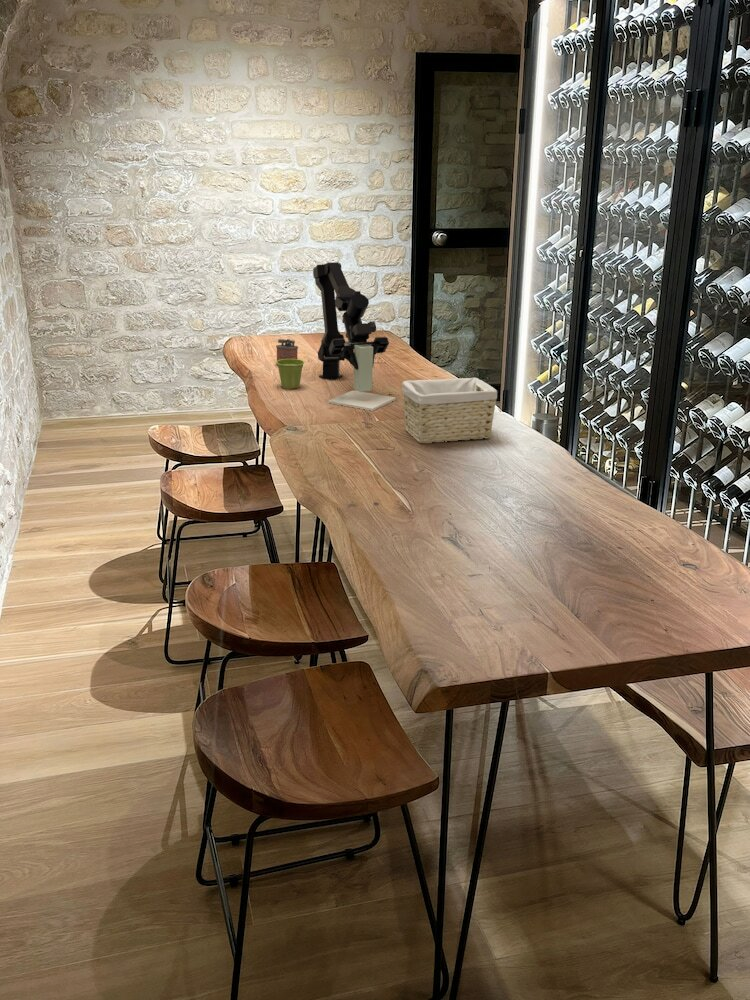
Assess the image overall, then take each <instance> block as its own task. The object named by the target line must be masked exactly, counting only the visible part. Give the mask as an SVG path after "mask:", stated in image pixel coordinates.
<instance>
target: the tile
mask: <svg viewBox="0 0 750 1000" xmlns="http://www.w3.org/2000/svg"><path fill="white" fill-rule="evenodd" d="M396 398H397V397H395V396H390V395H389V396H388V395H384V394H383V395H382V394H377V393H371V392H367V391H362V392H359V391H357V390H355V389H354V390H351V391H348V392H346V393H345V392H344V393H343V394H341V395H339V396H337V397H333V398H332V399H329V400H327V401H328V402H327V403H328V404H330V403H331V405H337V406H341V405H343V407H347V406H349V407H348V408H352V407H354V408H353V409H358V408H360V409H359V410H363V409H365V410H364V411H369V410H370V411H369V412H374V411H376V410H378V409H380V408H382V407H384V406H387V405H389V404H391V403H392V401H393V402H394V401H396V400H397V399H396Z"/></svg>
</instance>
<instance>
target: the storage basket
mask: <svg viewBox="0 0 750 1000" xmlns="http://www.w3.org/2000/svg"><path fill="white" fill-rule="evenodd" d="M401 386H402V388H401V393H402V394H403V407H404V420H405V421H404V423H405V426H404V427H405V431H406V432H407V433H408V434H410V436H413V438H414V440H416V442H418V443H419V444H433V443H432V442H435V443H448V442H447V441H450V442H459V441H458V440H465V441H471V440H470V439H474V440H483V438H485V439H490V438H491V435H492V428H493V421H494V415H495V409H496V408H495V407H496V404H497V399H498V390H497V389H496V388H495V387H493V386H491V385H490V384H488V383H487V382H485V381H483V380H482V379H479V378H478V377H468V378H467V377H465V378H462V377H461V378H445V379H444V378H443V379H442V378H441V379H416V380H414V379H413V380H404V381H402V385H401ZM444 441H445V442H444Z"/></svg>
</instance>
